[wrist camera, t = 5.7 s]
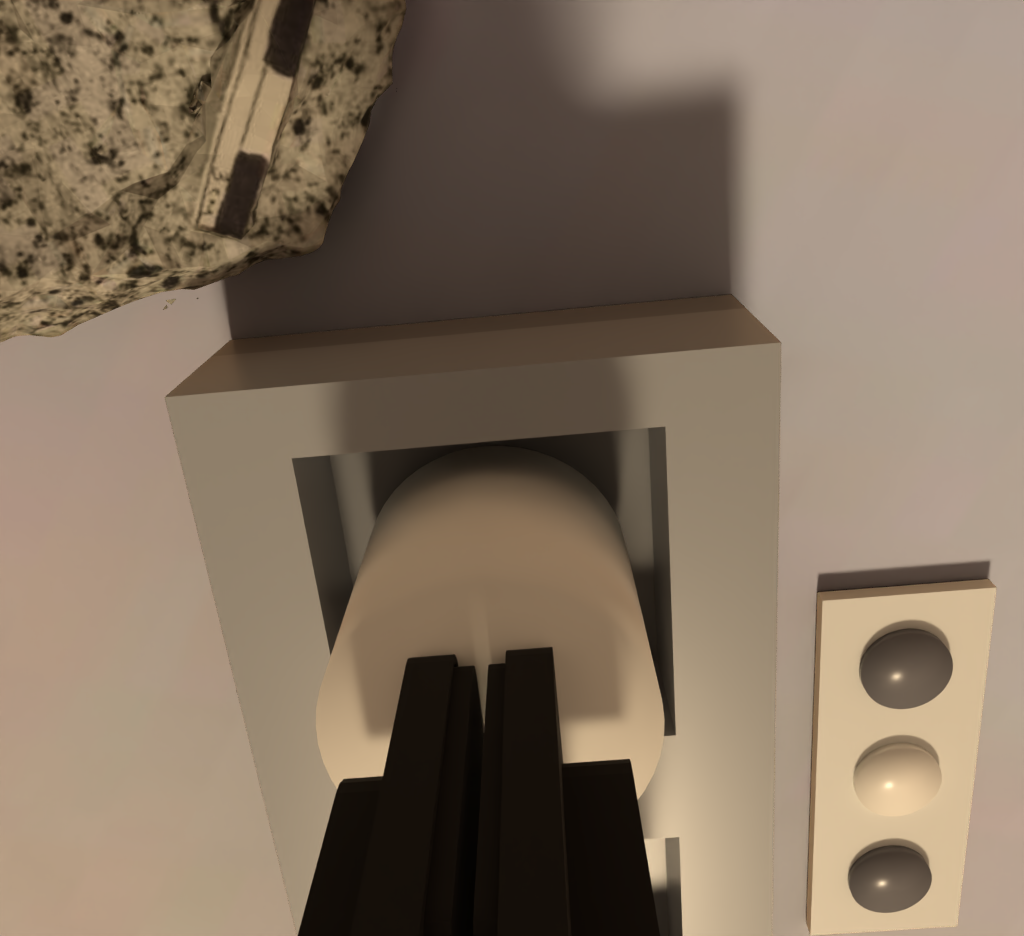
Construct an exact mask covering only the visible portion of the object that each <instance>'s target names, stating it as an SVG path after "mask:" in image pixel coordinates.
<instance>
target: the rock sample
mask: <svg viewBox="0 0 1024 936" xmlns="http://www.w3.org/2000/svg"><path fill="white" fill-rule="evenodd" d="M405 11H406V3H405V0H0V342H3V341H5V340H7V339H10V338H12V337H15V336H23V335H35V336H45V337H54V336H59V335H62V334H64V333H65V332H67V331H69V330H70V329H72V328H73V327H75V326H77V325H78V324H81V323H83V322H85V321H88V320H90V319H92V318H95V317H97V316H99V315H102V314H104V313H106V312H109V311H111V310H113V309H116V308H118V307H120V306H123V305H125V304H128V303H130V302H133V301H136V300H139V299H142V298H145V297H148V296H151V295H154V294H157V293H160V292H164V291H171V290H178V289H192V290H195V289H198V288H200V287H203V286H206V285H209V284H211V283H214V282H217V281H219V280H222V279H224V278H227V277H230V276H235V275H238V274H240V273H241V272H243V271H244V270H246V269H247V268H249V267H250V266H252V265H254V264H256V263H259V262H261V261H264V260H267V259H279V258H288V257H296V256H302V255H305V254H308V253H311V252H313V251H315V250H316V249H318V248H319V247H320V246H321V245H322V244H323V240H324V236H325V232H326V229H327V226H328V222H329V220H330V217H331V214H332V212H333V209H334V208H335V206H336V205H337V203H338V202H339V200H340V194H341V187H342V185H343V183H344V180H345V178H346V176H347V173H348V171H349V169H350V167H351V166H352V164H353V162H354V159H355V157H356V155H357V153H358V150H359V148H360V146H361V144H362V141H363V139H364V137H365V134H366V131H367V129H368V126H369V122H370V115H371V110H372V108H373V106H374V104H375V101H376V99H377V98H378V97H379V96H380V95H381V94H382V93H383V92H384V91H385V90H386V89H387V88H388V87H389V86H390V85H391V84H392V83H393V82H392V54H393V48H394V44H395V41H396V39H397V38H396V37H397V35H398V33H399V31H400V29H401V27H402V23H403V19H404V15H405ZM396 89H397V88H396ZM396 92H397V91H396ZM197 299H198V298H197ZM175 300H176V299H172V300H166V301H167V302H169V303H170V304H172V303H173V302H174V301H175ZM166 308H167V305H166V306H165V308H164V309H166ZM164 309H163V310H164Z"/></svg>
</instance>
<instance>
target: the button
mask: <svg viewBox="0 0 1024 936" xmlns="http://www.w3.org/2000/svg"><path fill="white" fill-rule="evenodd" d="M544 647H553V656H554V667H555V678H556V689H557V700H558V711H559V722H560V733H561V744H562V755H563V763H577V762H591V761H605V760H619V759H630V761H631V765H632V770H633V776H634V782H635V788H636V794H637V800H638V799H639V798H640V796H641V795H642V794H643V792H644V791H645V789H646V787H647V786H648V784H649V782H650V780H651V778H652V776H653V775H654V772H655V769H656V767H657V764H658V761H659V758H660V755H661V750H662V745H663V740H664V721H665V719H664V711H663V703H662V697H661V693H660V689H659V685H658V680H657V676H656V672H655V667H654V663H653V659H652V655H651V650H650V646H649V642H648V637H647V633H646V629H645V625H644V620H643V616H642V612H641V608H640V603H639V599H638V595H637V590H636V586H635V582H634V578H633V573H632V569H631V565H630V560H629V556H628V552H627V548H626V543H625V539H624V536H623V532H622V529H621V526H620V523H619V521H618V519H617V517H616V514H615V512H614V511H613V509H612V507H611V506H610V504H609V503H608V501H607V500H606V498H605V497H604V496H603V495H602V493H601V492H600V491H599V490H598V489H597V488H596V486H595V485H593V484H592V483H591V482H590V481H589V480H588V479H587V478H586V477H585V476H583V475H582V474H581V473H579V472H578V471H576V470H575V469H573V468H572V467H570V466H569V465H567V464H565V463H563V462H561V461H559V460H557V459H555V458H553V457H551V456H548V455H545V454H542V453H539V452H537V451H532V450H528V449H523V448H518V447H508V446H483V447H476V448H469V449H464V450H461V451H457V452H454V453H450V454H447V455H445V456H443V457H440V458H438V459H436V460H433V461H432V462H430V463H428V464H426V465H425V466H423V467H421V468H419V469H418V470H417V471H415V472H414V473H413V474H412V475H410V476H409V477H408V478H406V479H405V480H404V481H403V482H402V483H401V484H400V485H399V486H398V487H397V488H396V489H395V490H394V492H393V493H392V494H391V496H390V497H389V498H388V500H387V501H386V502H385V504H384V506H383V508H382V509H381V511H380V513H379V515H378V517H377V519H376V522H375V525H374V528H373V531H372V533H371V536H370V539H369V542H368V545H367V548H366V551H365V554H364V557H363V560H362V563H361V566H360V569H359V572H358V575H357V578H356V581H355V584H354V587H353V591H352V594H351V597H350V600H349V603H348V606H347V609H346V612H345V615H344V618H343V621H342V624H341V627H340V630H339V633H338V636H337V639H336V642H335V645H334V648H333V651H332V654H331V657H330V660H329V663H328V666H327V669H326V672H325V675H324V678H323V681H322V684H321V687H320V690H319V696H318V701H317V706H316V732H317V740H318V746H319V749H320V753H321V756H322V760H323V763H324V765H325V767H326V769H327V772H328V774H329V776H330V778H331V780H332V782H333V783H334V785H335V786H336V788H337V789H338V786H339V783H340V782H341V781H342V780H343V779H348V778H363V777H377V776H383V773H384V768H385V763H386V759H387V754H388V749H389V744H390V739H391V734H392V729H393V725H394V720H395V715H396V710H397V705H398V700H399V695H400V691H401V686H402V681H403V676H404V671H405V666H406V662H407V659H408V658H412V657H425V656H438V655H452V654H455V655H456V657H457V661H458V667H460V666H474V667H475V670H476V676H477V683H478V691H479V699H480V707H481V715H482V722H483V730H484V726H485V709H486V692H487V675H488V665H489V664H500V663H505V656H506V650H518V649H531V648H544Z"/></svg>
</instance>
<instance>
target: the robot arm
mask: <svg viewBox="0 0 1024 936" xmlns="http://www.w3.org/2000/svg"><path fill="white" fill-rule="evenodd" d="M298 936H660V932H659V926H658V920H657V914H656V908H655V902H654V896H653V890H652V884H651V878H650V872H649V866H648V860H647V854H646V848H645V842H644V836H643V830H642V824H641V818H640V812H639V806H638V800H637V794H636V788H635V782H634V776H633V770H632V765H631V761H630V759H619V760H605V761H591V762H577V763H563V755H562V744H561V733H560V722H559V711H558V700H557V689H556V678H555V667H554V656H553V647H544V648H531V649H518V650H506V656H505V663H500V664H489V665H488V675H487V692H486V709H485V726H484V730H483V722H482V715H481V707H480V699H479V691H478V683H477V676H476V670H475V667H474V666H460V667H458V661H457V657H456V655H455V654H452V655H438V656H425V657H412V658H408V659H407V662H406V666H405V671H404V676H403V681H402V686H401V691H400V695H399V700H398V705H397V710H396V715H395V720H394V725H393V729H392V734H391V739H390V744H389V749H388V754H387V759H386V763H385V768H384V773H383V776H377V777H363V778H348V779H343V780H342V781H341V782H340V783H339V786H338V789H337V792H336V794H335V798H334V802H333V806H332V809H331V813H330V817H329V820H328V824H327V828H326V832H325V835H324V839H323V843H322V847H321V850H320V854H319V858H318V861H317V865H316V869H315V873H314V876H313V880H312V884H311V887H310V891H309V895H308V899H307V902H306V906H305V910H304V914H303V917H302V921H301V925H300V928H299V932H298Z"/></svg>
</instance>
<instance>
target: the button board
mask: <svg viewBox="0 0 1024 936" xmlns="http://www.w3.org/2000/svg"><path fill="white" fill-rule="evenodd" d="M780 392H781V342H780V341H779V340H778V339H777V338H776V337H775V336H774V335H773V334H772V333H771V332H770V331H769V330H768V329H767V328H766V327H765V326H764V325H763V324H762V323H761V322H760V321H759V320H758V319H757V318H755V317H754V316H753V315H752V314H751V313H750V312H749V311H748V310H747V309H746V308H745V307H744V306H743V305H742V304H741V303H740V302H739V301H738V300H737V299H736V298H735V297H734V296H733V295H732V294H728V295H717V296H706V297H695V298H685V299H674V300H663V301H652V302H641V303H630V304H619V305H608V306H597V307H586V308H575V309H564V310H553V311H542V312H531V313H520V314H509V315H498V316H487V317H476V318H465V319H454V320H444V321H433V322H422V323H411V324H400V325H389V326H378V327H367V328H356V329H345V330H334V331H323V332H312V333H301V334H290V335H279V336H268V337H257V338H246V339H235V340H230V341H229V342H228V343H226V344H225V345H224V346H223V347H222V348H221V349H220V350H218V351H217V352H216V353H215V354H214V355H213V356H212V357H210V358H209V359H208V360H207V361H206V362H205V363H203V364H202V365H201V366H200V367H199V368H198V369H197V370H195V371H194V372H193V373H192V374H191V375H190V376H189V377H187V378H186V379H185V380H184V381H183V382H182V383H180V384H179V385H178V386H177V387H176V388H175V389H174V390H172V391H171V392H170V393H169V394H168V395H167V396H166V397H165V401H166V405H167V409H168V413H169V417H170V421H171V425H172V429H173V434H174V438H175V442H176V446H177V450H178V454H179V458H180V462H181V466H182V470H183V474H184V478H185V482H186V486H187V490H188V495H189V499H190V503H191V507H192V511H193V515H194V519H195V523H196V527H197V531H198V535H199V539H200V543H201V547H202V552H203V556H204V560H205V564H206V568H207V572H208V576H209V580H210V584H211V588H212V592H213V596H214V600H215V604H216V608H217V613H218V617H219V621H220V625H221V629H222V633H223V637H224V641H225V645H226V649H227V653H228V657H229V661H230V665H231V670H232V674H233V678H234V682H235V686H236V690H237V694H238V698H239V702H240V706H241V710H242V714H243V718H244V722H245V726H246V731H247V735H248V739H249V743H250V747H251V751H252V755H253V759H254V763H255V767H256V771H257V775H258V779H259V783H260V788H261V792H262V796H263V800H264V804H265V808H266V812H267V816H268V820H269V824H270V828H271V832H272V836H273V840H274V844H275V849H276V853H277V857H278V861H279V865H280V869H281V873H282V877H283V881H284V885H285V889H286V893H287V897H288V901H289V906H290V910H291V914H292V918H293V922H294V926H295V930H296V934H297V936H298V932H299V928H300V925H301V921H302V917H303V914H304V910H305V906H306V902H307V899H308V895H309V891H310V887H311V884H312V880H313V876H314V873H315V869H316V865H317V861H318V858H319V854H320V850H321V847H322V843H323V839H324V835H325V832H326V828H327V824H328V820H329V817H330V813H331V809H332V806H333V802H334V798H335V794H336V792H337V788H336V786H335V785H334V783H333V782H332V780H331V778H330V776H329V774H328V772H327V769H326V767H325V765H324V763H323V760H322V756H321V753H320V749H319V746H318V740H317V732H316V706H317V701H318V696H319V690H320V687H321V684H322V681H323V678H324V675H325V672H326V669H327V666H328V663H329V660H330V657H331V654H332V651H333V648H334V645H335V642H336V639H337V636H338V633H339V630H340V627H341V624H342V621H343V618H344V615H345V612H346V609H347V606H348V603H349V600H350V597H351V594H352V591H353V587H354V584H355V581H356V578H357V575H358V572H359V569H360V566H361V563H362V560H363V557H364V554H365V551H366V548H367V545H368V542H369V539H370V536H371V533H372V531H373V528H374V525H375V522H376V519H377V517H378V515H379V513H380V511H381V509H382V508H383V506H384V504H385V502H386V501H387V500H388V498H389V497H390V496H391V494H392V493H393V492H394V490H395V489H396V488H397V487H398V486H399V485H400V484H401V483H402V482H403V481H404V480H405V479H406V478H408V477H409V476H410V475H412V474H413V473H414V472H415V471H417V470H418V469H419V468H421V467H423V466H425V465H426V464H428V463H430V462H432V461H433V460H436V459H438V458H440V457H443V456H445V455H447V454H450V453H454V452H457V451H461V450H464V449H469V448H476V447H483V446H508V447H518V448H523V449H528V450H532V451H537V452H539V453H542V454H545V455H548V456H551V457H553V458H555V459H557V460H559V461H561V462H563V463H565V464H567V465H569V466H570V467H572V468H573V469H575V470H576V471H578V472H579V473H581V474H582V475H583V476H585V477H586V478H587V479H588V480H589V481H590V482H591V483H592V484H593V485H595V486H596V488H597V489H598V490H599V491H600V492H601V493H602V495H603V496H604V497H605V498H606V500H607V501H608V503H609V504H610V506H611V507H612V509H613V511H614V512H615V514H616V517H617V519H618V521H619V523H620V526H621V529H622V532H623V536H624V539H625V543H626V548H627V552H628V556H629V560H630V565H631V569H632V573H633V578H634V582H635V586H636V590H637V595H638V599H639V603H640V608H641V612H642V616H643V620H644V625H645V629H646V633H647V637H648V642H649V646H650V650H651V655H652V659H653V663H654V667H655V672H656V676H657V680H658V685H659V689H660V693H661V697H662V703H663V711H664V719H665V721H664V740H663V745H662V750H661V755H660V758H659V761H658V764H657V767H656V769H655V772H654V775H653V776H652V778H651V780H650V782H649V784H648V786H647V787H646V789H645V791H644V792H643V794H642V795H641V796H640V798H639V799H638V806H639V812H640V818H641V824H642V830H643V836H644V842H645V848H646V854H647V860H648V866H649V872H650V878H651V884H652V890H653V896H654V902H655V908H656V914H657V920H658V926H659V932H660V936H772V913H773V848H774V782H775V717H776V652H777V587H778V522H779V457H780Z"/></svg>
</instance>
